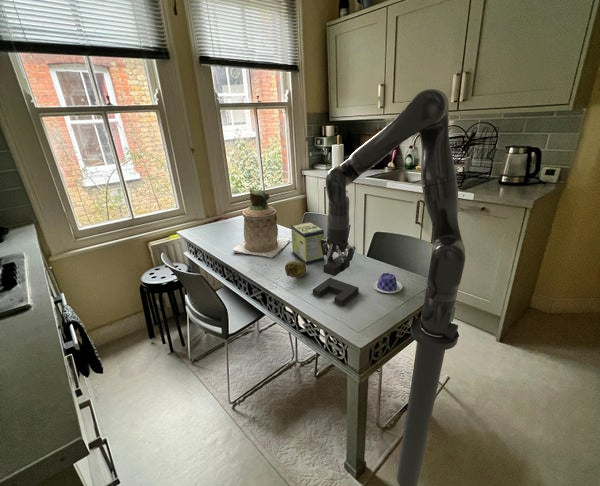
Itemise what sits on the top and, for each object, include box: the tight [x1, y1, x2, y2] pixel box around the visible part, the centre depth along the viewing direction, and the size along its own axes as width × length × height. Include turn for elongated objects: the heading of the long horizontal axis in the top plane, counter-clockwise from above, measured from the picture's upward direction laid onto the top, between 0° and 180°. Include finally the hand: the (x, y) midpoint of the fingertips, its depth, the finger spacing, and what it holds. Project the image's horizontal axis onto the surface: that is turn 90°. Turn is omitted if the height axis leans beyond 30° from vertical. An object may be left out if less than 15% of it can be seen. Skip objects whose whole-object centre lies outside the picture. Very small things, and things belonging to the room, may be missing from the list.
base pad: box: [312, 277, 360, 307], centre depth 127 cm, size 14×12×2 cm
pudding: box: [371, 272, 403, 294], centre depth 129 cm, size 12×12×5 cm
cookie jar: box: [231, 189, 290, 259], centre depth 166 cm, size 25×25×32 cm
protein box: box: [290, 221, 325, 265], centre depth 157 cm, size 10×16×16 cm
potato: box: [284, 260, 308, 278], centre depth 140 cm, size 8×13×8 cm, turn 131°
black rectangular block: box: [322, 255, 351, 277], centre depth 116 cm, size 5×10×3 cm, turn 140°
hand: (336, 268), depth 117 cm, fingers closed on black rectangular block, 5 cm apart
